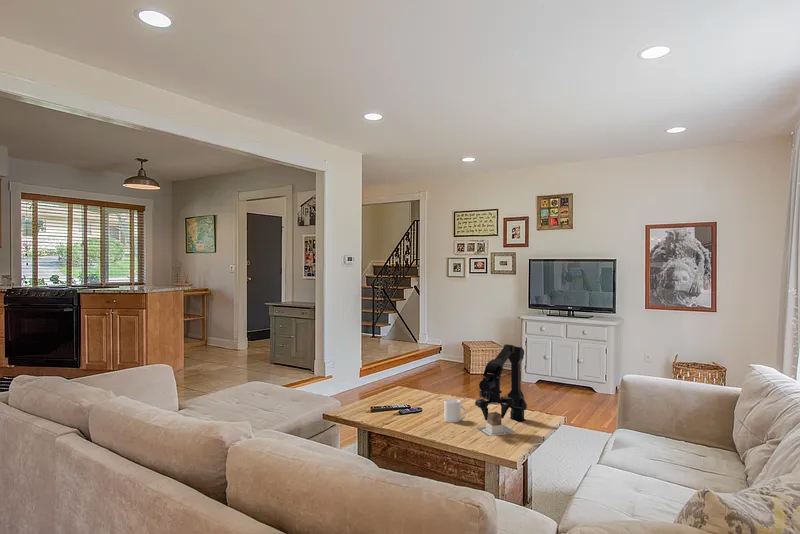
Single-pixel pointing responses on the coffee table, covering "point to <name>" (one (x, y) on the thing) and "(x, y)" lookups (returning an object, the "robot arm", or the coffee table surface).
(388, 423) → the coffee table surface
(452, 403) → the mug
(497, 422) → the walnut cube
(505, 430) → the grey flat rectangular panel
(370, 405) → the coffee table surface
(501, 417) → the robot arm
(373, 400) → the coffee table surface
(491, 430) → the base block
